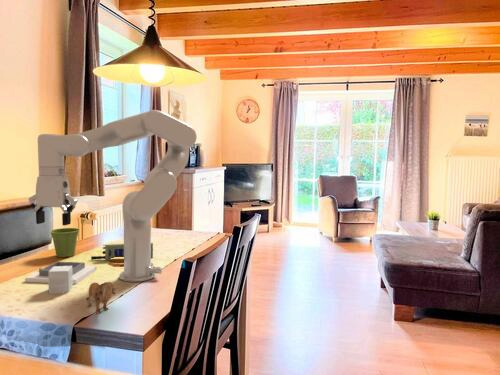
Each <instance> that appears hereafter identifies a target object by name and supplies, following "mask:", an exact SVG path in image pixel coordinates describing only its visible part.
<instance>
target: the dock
mask: <svg viewBox="0 0 500 375" xmlns="http://www.w3.org/2000/svg"><path fill="white" fill-rule="evenodd" d="M85 264H86V263H85V262H82V261H81V262H79V261H78V262H76V261H55V262H53V263H51V264H49V265H47V266H44V267H43V268H39V269H38V270H37V271H35V272H33V273H32V274H30V275H28V276H26V277H24V282H25V283H42V284H43V283H44V284H45V283H46V284H47V283H48V284H49V276H48V272H49V271H50V270H51V269H52V267H54V266H72V275H73V285H77V284H78V283H80V282H81V281H82V280H84V279H86V278H88V277H89V276H90V275H92V274H93V273H95V272H96V271H98V268H97V267H98V266H97V265H85Z"/></svg>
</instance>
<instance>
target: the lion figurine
mask: <svg viewBox="0 0 500 375" xmlns="http://www.w3.org/2000/svg"><path fill="white" fill-rule="evenodd" d="M118 289H119V288H117V287H115V286H114V285H113V284H112V282H110V281H106V282H103V283H101V284H99V283H98V282H93V283H90V285H89V287H88V297H87V298H86V299H85V300H86V301H88V304H87V307H88V308H90V306H91V307H92V298H93V301H94V304H95V314H100V313H101V309H100V304H103V306H102V310H103V311H108V310H109V307H107V306H108V305H107V304H108V302H109V300H111V299H112V297H113V296H115V295H116V294H117V293H118Z"/></svg>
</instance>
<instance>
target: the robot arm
mask: <svg viewBox="0 0 500 375" xmlns="http://www.w3.org/2000/svg"><path fill="white" fill-rule="evenodd" d="M154 135H155V136H157V137H158V138H161V139H163V140H165V141H166V143H167V151H166V153H165V155H164V156H163V157H162V159H161V160H160V161H159V162H158V163H157V164H156V165H155V166H154V167H153V169H152V170H150V171H149V172H148V174H147V175H146V176H145V178H144V185H143V187H142V188H141V189H140V190H134V191H130V192H128V193H127V194H126V195H125V196H124V199H123V200H122V207H121V208H122V220H123V244H124V260H123V271H121V272H120V273H119V275H118V276H119V279H120V280H121V281H124V282H130V283H134V282H137V283H140V282H145V281H149V280H152V279H154V277H156V274H162V273H163V268H162V266H154V262H152V258H151V243H152V222H151V220H152V218H153V217H154V216H156V215H157V214H158V212H159V211H160V210H161V209H162V208H163V207H164V206H165V205H166V203H168V201H169V200H170V199H171V198H172V197H173V195H174V194H175V191H176V190H177V187H178V181H177V178H178V177H179V176H180V174H181V173H182V171H183V170H184V169H185V168H186V166H187V164H188V162H189V157H190V148H191V147H193V146H194V145H195V144H196V141H197V132H196V130H195V128H193V127H192V126H191V125H190V124H187V123H185V122H184V121H181V120H179V119H178V118H176V117H173V116H172V115H169V114H168V113H166V112H164V111H161V110H158V109H151V110H148V111H145V112H142V113H138V114H135V115H132V116H128V117H124V118H121V119H117V120H114V121H111V122H108V123H106V124H104V125H102V126H98V127H95V128H93V129H89V130H86V131H83V132H79V133H75V134H74V133H73V134H61V135H60V134H56V133H41V134H39V135H38V136H37V162H38V165H37V166H38V176H37V177H36V185H35V194H34V195H32V196H30V197H28V202H29V204H30V206H31V208H33V212H34V213H35V222H36V224H37V225H39V224H44V223H45V222H46V214H45V210H44V209H45V208H60V209H61V210H62V212H63V213H61V214H62V215H61V216H62V217H61V219H62V224H61V225H62V226H69V225H70V224H71V220H72V219H71V218H72V214H71V213H72V212H73V210H74V209H75V208H76V205H77V203H78V199H77V198H76V197H73V196H71V187H70V183H69V179H68V176H66V174H67V172H68V169H67V168H65V156H66V157H73V158H80V157H84V156H86V154H90V153H93V152H96V151H99V150H103V149H106V148H112V147H113V148H115V147H119V146H124V145H127V144H130V143H132V142H133V143H134V142H135V141H138V140H142V139H145V138H148V137H151V136H154Z"/></svg>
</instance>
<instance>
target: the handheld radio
mask: <svg viewBox="0 0 500 375" xmlns="http://www.w3.org/2000/svg"><path fill="white" fill-rule="evenodd" d="M102 246H103V247H102V250H103V251H102V255H99V256H96V255H95V256H91V257H90V258H91V260H102V259H103V260H104V261H111V260H110V259H111V258H114V257H124V243H115V244H113V243H110V244H103V245H102ZM153 258H154V244H153V242H151V259H153Z"/></svg>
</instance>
